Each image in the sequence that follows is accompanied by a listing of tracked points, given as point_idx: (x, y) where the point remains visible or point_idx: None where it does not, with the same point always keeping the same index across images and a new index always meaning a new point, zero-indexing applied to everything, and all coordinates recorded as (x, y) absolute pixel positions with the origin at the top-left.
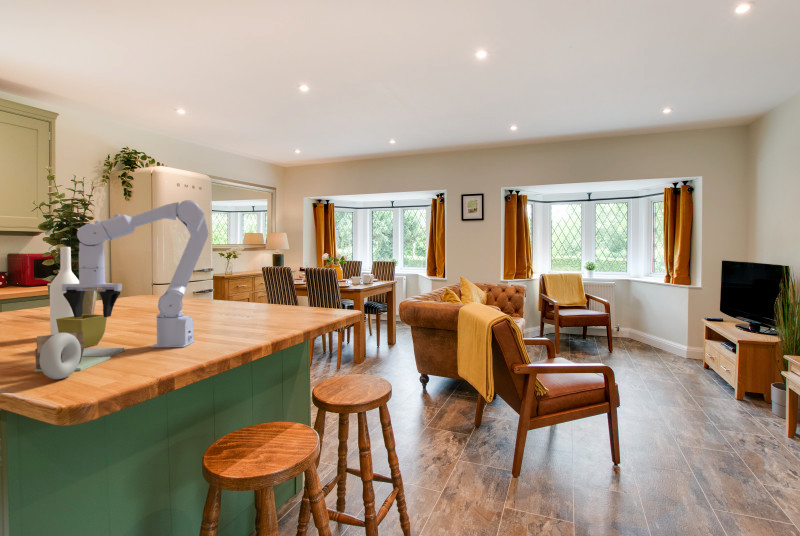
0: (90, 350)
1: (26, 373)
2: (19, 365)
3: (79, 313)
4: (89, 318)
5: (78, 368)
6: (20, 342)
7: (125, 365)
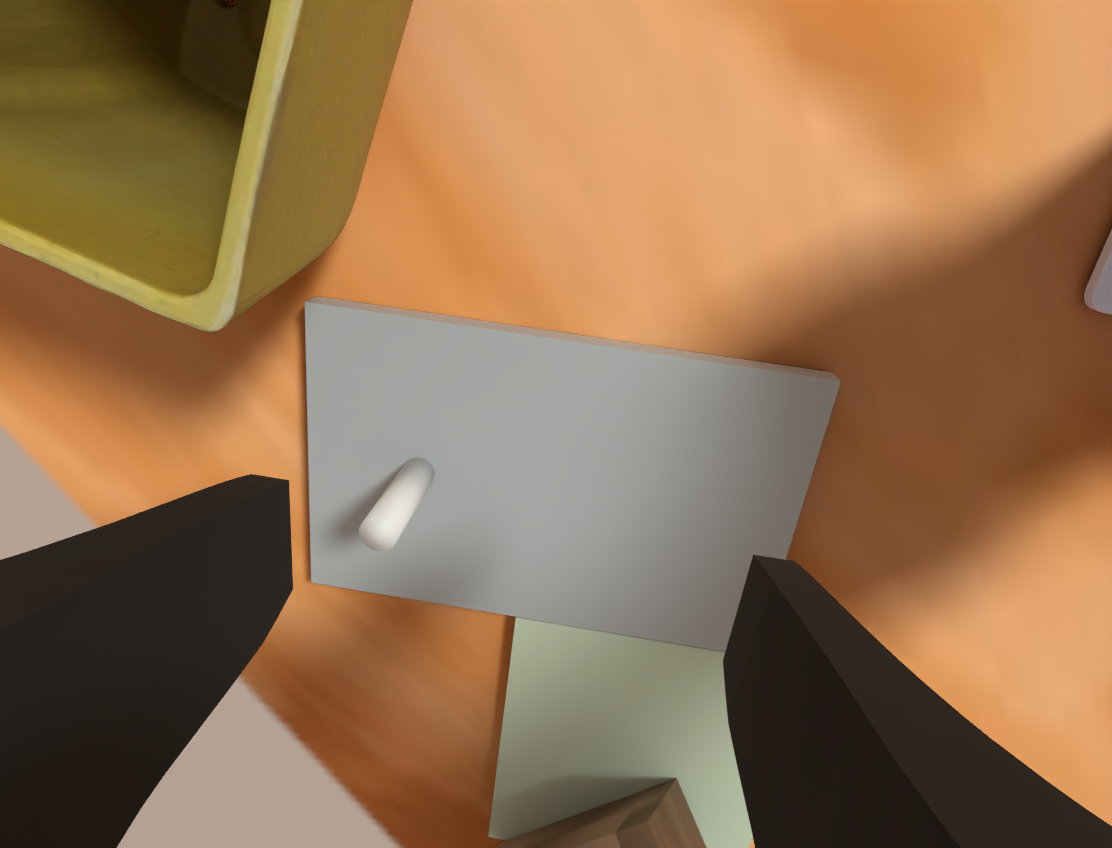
0: (561, 429)
1: (472, 839)
2: (294, 670)
3: (257, 565)
4: (265, 164)
5: None
6: None
7: None
